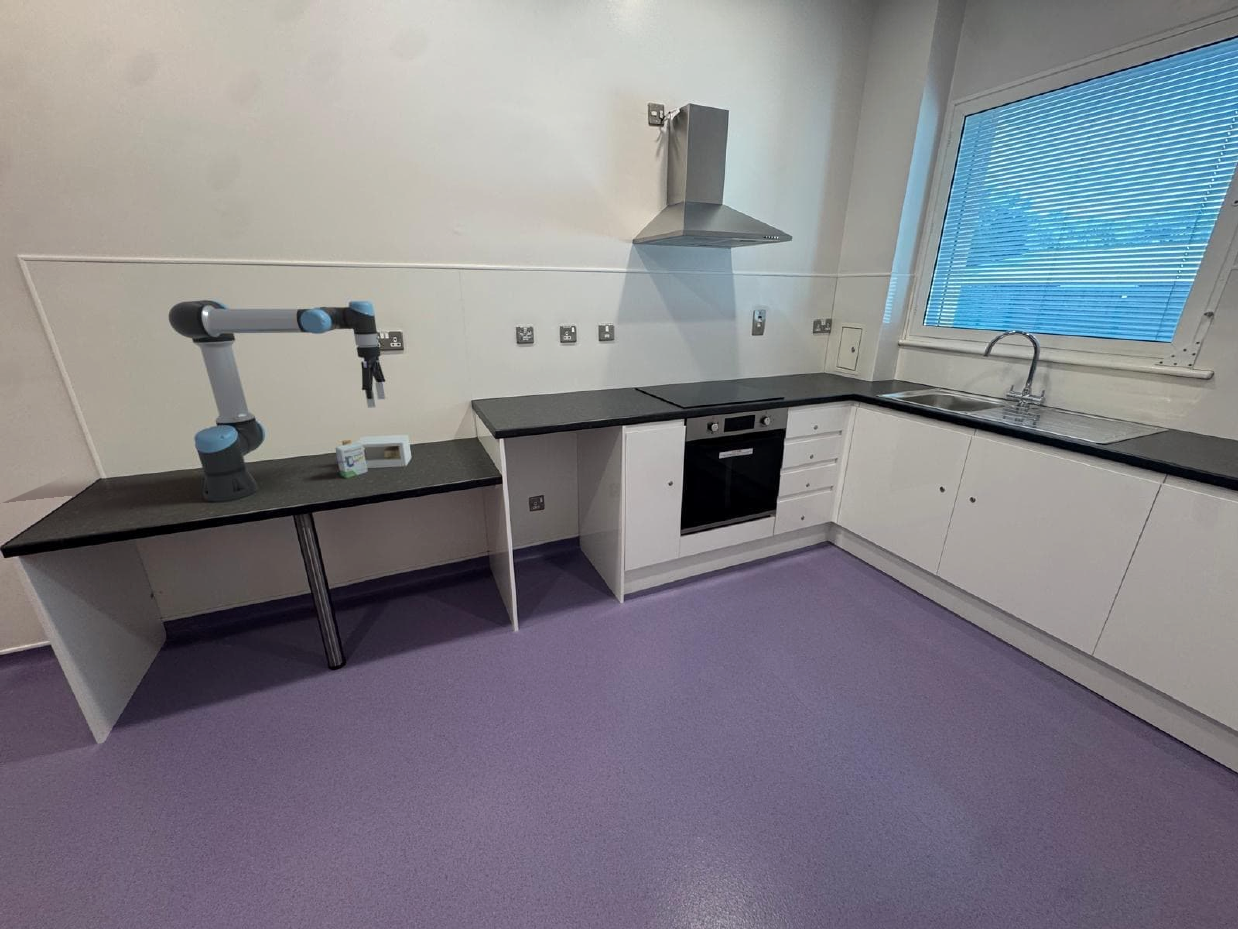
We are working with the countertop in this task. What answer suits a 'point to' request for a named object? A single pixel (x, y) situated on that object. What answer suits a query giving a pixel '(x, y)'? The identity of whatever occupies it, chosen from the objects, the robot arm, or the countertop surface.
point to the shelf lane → (379, 444)
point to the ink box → (351, 459)
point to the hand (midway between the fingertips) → (377, 403)
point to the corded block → (390, 451)
